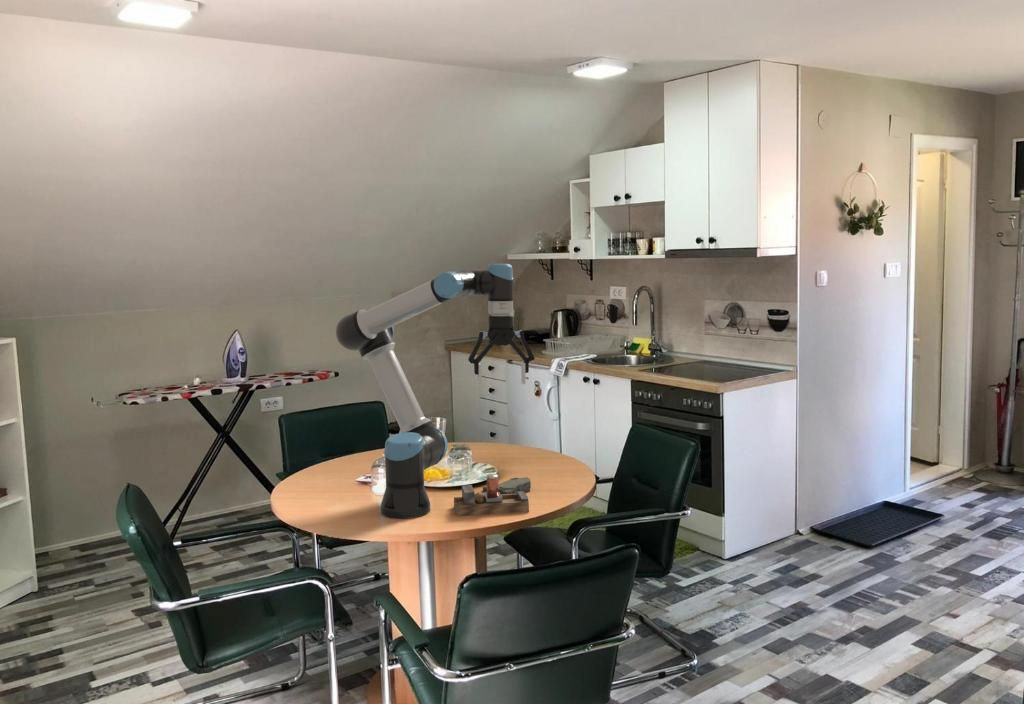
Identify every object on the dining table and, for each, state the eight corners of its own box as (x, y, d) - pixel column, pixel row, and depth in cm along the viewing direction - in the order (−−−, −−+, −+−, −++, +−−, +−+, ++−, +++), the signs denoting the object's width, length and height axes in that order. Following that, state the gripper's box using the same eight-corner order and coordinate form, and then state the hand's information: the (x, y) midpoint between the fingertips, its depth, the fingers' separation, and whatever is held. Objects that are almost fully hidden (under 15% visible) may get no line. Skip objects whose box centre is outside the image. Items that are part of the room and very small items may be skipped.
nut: (474, 506, 256) (473, 495, 256) (473, 503, 260) (471, 491, 259) (486, 504, 257) (484, 493, 256) (484, 501, 260) (483, 490, 260)
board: (457, 516, 253) (456, 493, 252) (453, 507, 262) (453, 485, 261) (528, 512, 256) (528, 489, 255) (523, 502, 266) (523, 481, 265)
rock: (533, 498, 272) (533, 484, 271) (484, 501, 271) (483, 486, 270) (530, 488, 284) (530, 474, 283) (482, 490, 282) (482, 477, 282)
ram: (486, 505, 255) (485, 478, 254) (483, 499, 262) (483, 472, 261) (502, 504, 256) (502, 477, 255) (499, 498, 263) (498, 472, 262)
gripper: (461, 316, 249) (462, 387, 251) (543, 314, 253) (544, 384, 255) (458, 314, 256) (459, 383, 258) (538, 313, 260) (539, 381, 262)
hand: (501, 384), depth 257 cm, fingers open, 13 cm apart
